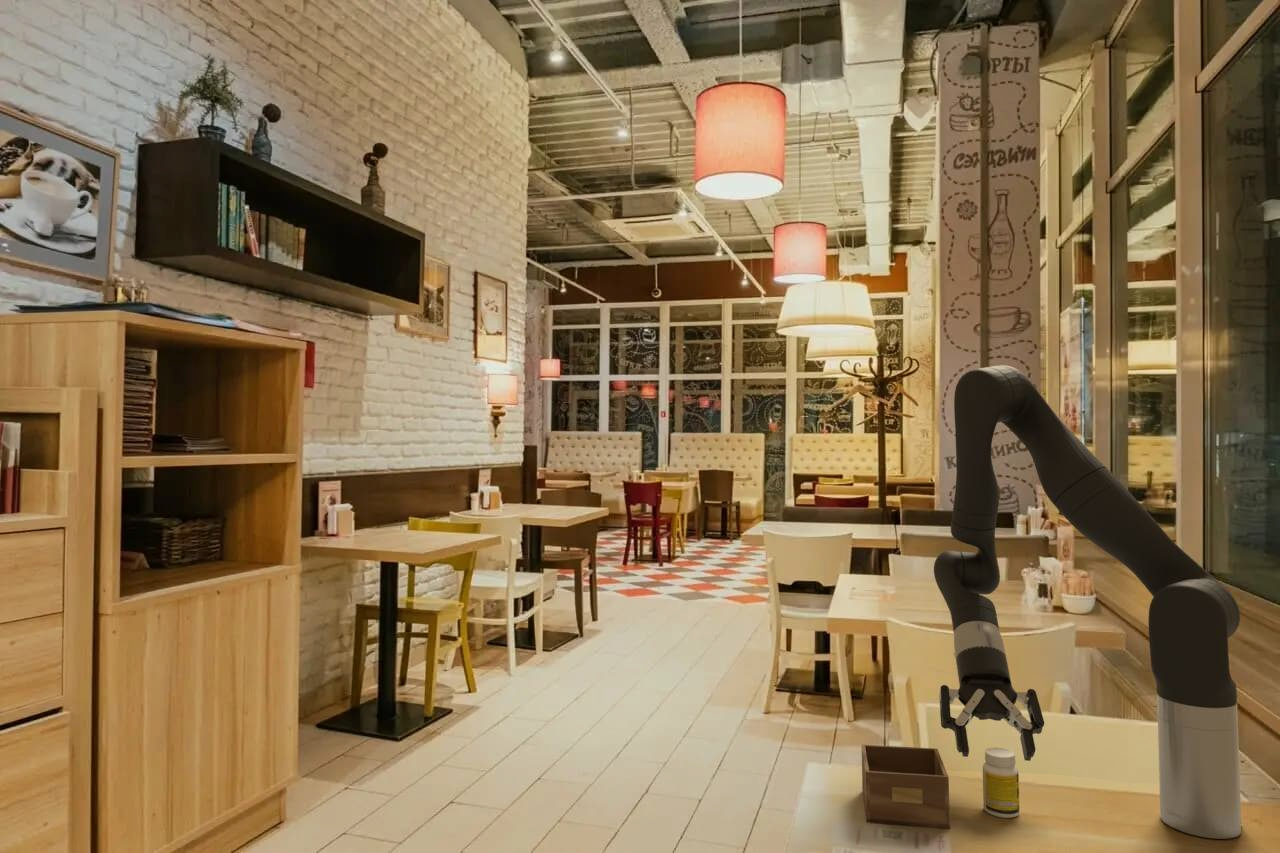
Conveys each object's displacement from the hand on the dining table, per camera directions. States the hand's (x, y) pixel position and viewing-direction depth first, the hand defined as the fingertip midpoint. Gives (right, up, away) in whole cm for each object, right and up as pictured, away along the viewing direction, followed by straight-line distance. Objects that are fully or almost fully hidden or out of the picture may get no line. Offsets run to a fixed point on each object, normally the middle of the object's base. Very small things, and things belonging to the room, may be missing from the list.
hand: (997, 756), depth 123 cm
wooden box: (-14, -7, -1) cm, 16 cm away
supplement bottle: (0, -7, -2) cm, 8 cm away
